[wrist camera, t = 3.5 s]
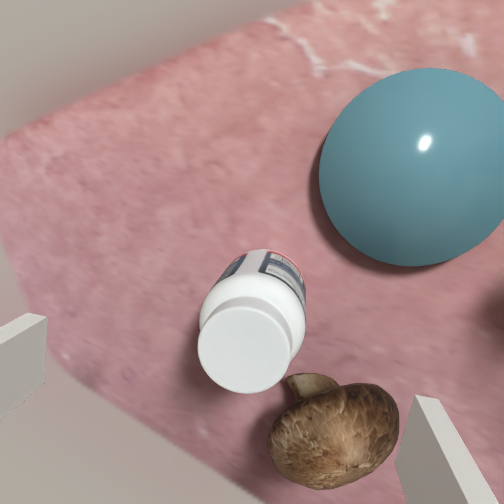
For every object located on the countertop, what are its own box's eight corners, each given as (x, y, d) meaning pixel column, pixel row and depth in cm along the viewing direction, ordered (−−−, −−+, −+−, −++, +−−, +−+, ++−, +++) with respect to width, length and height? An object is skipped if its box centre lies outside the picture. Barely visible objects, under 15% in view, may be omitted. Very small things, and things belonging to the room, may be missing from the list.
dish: (447, 30, 20) (455, 22, 19) (548, 194, 21) (562, 196, 20) (283, 151, 23) (282, 150, 22) (380, 293, 24) (384, 299, 23)
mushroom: (247, 360, 22) (287, 471, 18) (370, 323, 24) (436, 416, 20) (253, 425, 28) (285, 523, 23) (354, 391, 29) (403, 477, 25)
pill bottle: (229, 328, 26) (190, 410, 17) (218, 252, 25) (170, 298, 16) (310, 323, 25) (311, 406, 16) (301, 243, 24) (298, 287, 15)
